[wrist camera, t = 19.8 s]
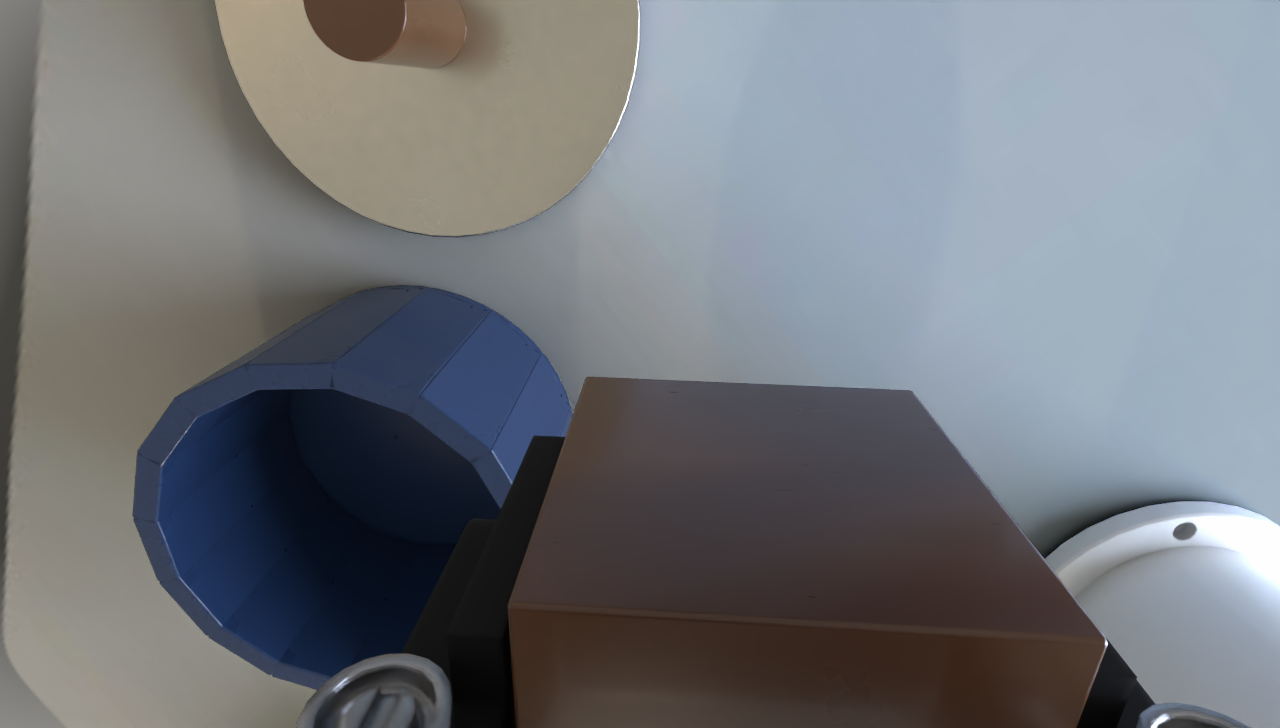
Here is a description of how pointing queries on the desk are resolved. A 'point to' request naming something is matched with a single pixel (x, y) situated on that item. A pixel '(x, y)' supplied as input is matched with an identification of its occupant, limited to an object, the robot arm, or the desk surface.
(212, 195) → the desk surface
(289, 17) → the lid
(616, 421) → the block
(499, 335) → the blue bowl
